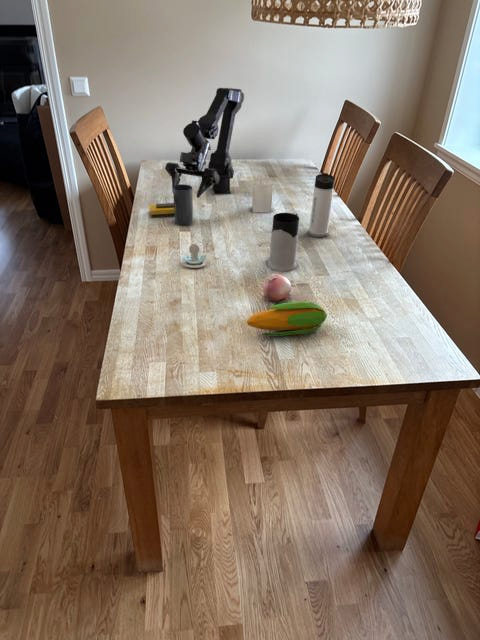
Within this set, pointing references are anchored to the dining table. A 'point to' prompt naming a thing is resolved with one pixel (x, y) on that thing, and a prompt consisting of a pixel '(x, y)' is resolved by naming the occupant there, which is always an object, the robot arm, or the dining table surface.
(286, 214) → the glass holder
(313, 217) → the travel mug
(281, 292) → the onion
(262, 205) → the beige rectangular block
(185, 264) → the pacifier
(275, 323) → the corn
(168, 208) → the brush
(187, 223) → the tumbler
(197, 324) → the dining table surface
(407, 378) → the dining table surface
